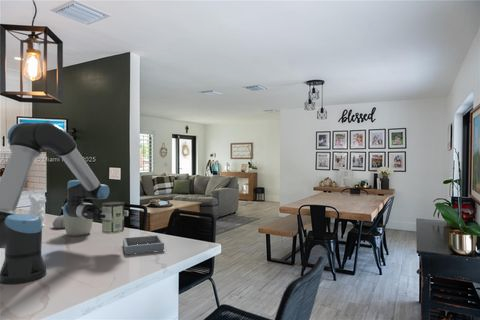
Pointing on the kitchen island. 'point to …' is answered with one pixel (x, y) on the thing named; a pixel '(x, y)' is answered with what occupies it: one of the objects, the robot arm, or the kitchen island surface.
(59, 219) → the sea urchin shell
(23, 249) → the robot arm
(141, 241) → the grey square tray
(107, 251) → the kitchen island surface
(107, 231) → the coffee can
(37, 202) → the cherub figurine
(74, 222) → the canister
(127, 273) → the kitchen island surface
